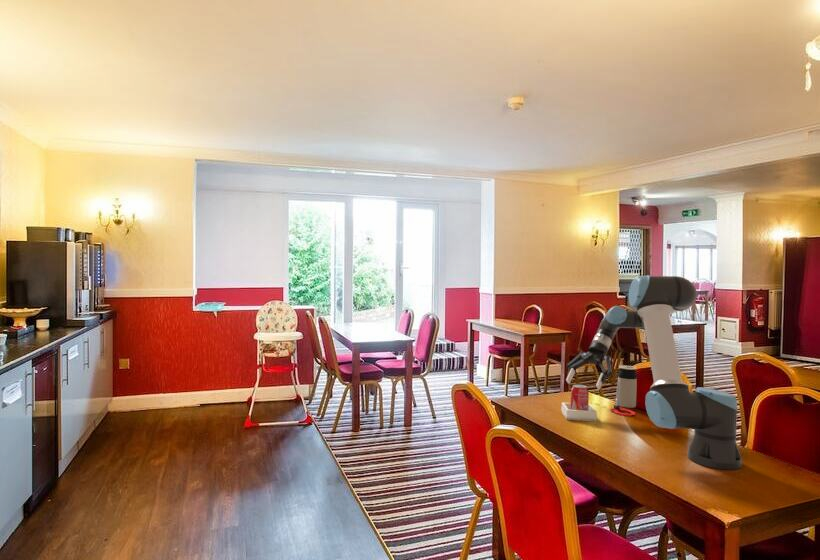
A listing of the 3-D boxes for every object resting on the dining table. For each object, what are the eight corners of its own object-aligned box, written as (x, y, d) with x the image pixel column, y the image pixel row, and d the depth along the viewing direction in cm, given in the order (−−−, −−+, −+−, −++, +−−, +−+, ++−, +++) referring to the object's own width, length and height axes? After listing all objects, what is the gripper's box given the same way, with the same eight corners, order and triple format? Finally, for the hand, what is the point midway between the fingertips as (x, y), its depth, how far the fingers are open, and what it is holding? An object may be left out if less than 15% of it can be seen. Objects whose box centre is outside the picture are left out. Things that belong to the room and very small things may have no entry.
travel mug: (636, 409, 226) (638, 369, 226) (617, 407, 229) (619, 367, 229) (634, 404, 234) (636, 366, 234) (616, 402, 236) (617, 364, 236)
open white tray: (596, 421, 206) (597, 411, 206) (566, 419, 207) (566, 410, 207) (589, 413, 218) (590, 403, 218) (561, 411, 219) (561, 402, 219)
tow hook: (639, 416, 217) (621, 409, 225) (641, 386, 216) (623, 381, 224) (626, 418, 213) (608, 411, 221) (628, 388, 212) (610, 382, 220)
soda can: (573, 410, 217) (574, 383, 217) (590, 413, 213) (591, 385, 213) (568, 414, 212) (569, 386, 211) (585, 417, 208) (586, 388, 207)
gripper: (571, 337, 231) (553, 374, 221) (625, 344, 213) (608, 384, 203) (576, 348, 235) (558, 384, 225) (630, 355, 217) (613, 395, 206)
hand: (582, 384), depth 214 cm, fingers open, 13 cm apart
